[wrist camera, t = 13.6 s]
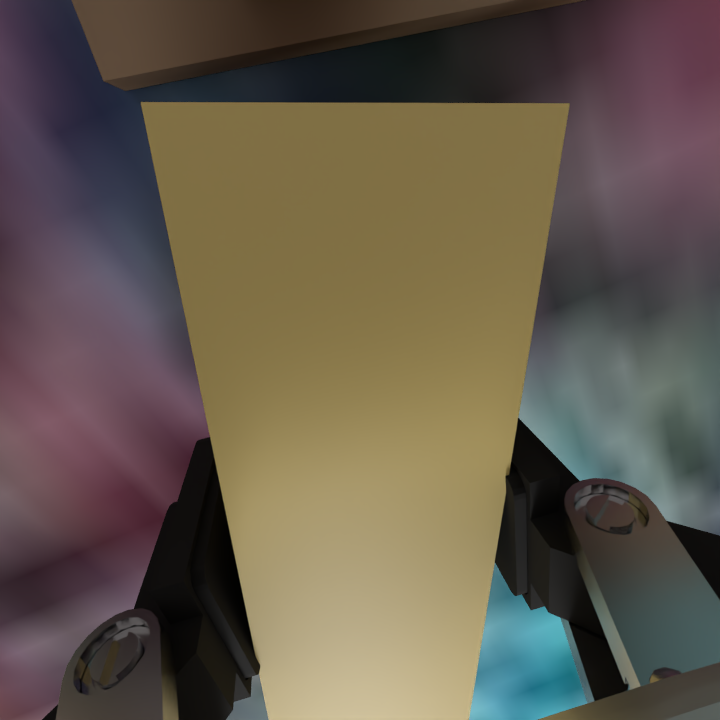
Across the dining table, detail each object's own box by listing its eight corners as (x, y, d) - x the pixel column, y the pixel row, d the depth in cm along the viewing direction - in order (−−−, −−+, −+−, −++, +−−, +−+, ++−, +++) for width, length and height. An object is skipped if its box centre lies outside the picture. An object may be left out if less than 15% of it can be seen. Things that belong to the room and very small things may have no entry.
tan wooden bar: (283, 626, 13) (284, 793, 10) (208, 137, 7) (140, 102, 4) (417, 601, 14) (464, 749, 10) (442, 135, 8) (570, 103, 5)
